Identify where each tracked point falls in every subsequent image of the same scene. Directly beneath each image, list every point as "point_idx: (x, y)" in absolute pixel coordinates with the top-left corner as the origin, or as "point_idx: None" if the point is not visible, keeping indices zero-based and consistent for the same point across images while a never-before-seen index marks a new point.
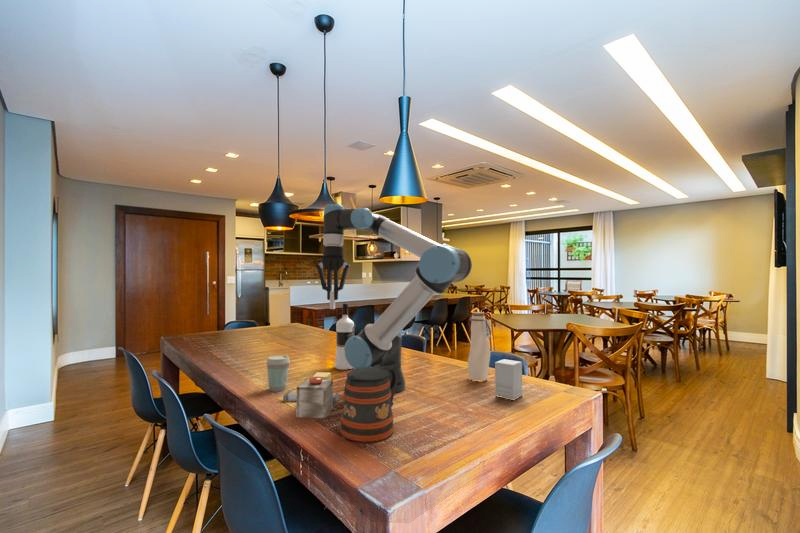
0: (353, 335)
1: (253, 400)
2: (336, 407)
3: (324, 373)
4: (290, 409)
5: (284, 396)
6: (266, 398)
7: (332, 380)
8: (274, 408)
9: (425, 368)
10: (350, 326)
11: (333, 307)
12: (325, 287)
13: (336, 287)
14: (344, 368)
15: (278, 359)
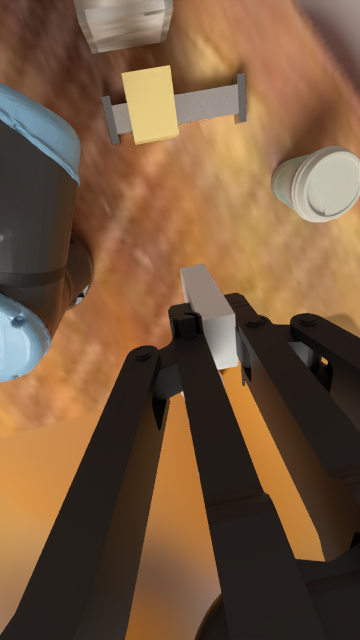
0: None
1: (317, 69)
2: (84, 62)
3: (150, 124)
4: (196, 7)
5: (241, 74)
6: (291, 96)
7: (76, 13)
8: (241, 6)
9: (31, 425)
10: None
11: (181, 271)
12: (294, 331)
13: (181, 351)
14: None
15: (325, 156)
